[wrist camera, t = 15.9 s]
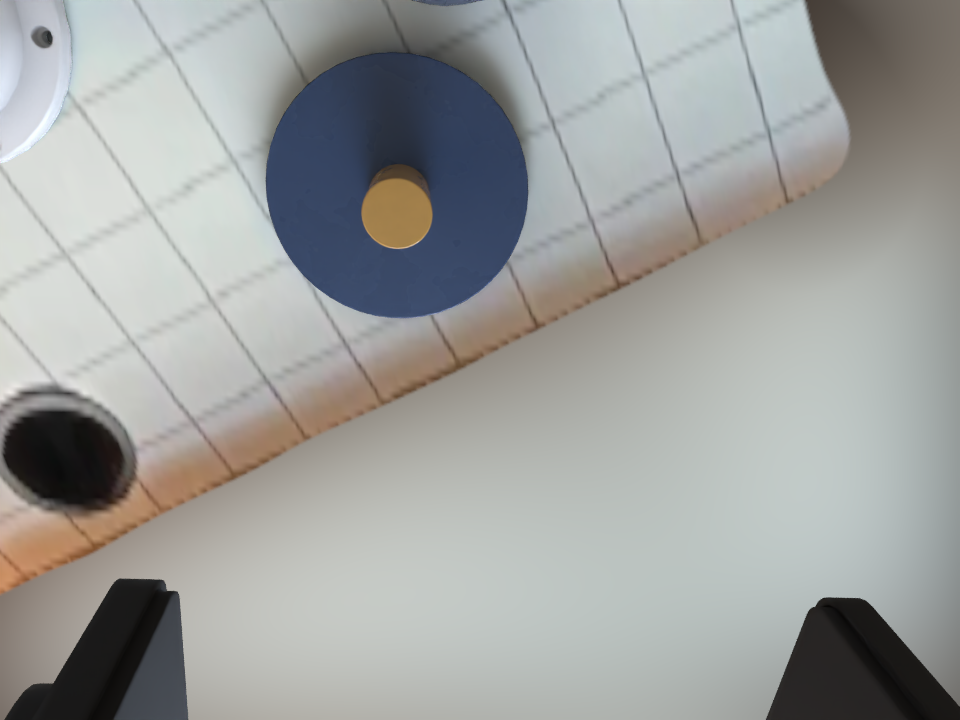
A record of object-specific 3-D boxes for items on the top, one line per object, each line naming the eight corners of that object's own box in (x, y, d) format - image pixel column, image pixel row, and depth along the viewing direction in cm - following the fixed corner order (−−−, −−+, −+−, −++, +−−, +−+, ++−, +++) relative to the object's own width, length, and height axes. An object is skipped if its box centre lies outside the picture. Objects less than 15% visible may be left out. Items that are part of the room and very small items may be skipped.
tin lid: (305, 328, 36) (285, 375, 30) (238, 75, 31) (199, 74, 25) (537, 290, 36) (559, 329, 31) (508, 33, 31) (529, 23, 26)
